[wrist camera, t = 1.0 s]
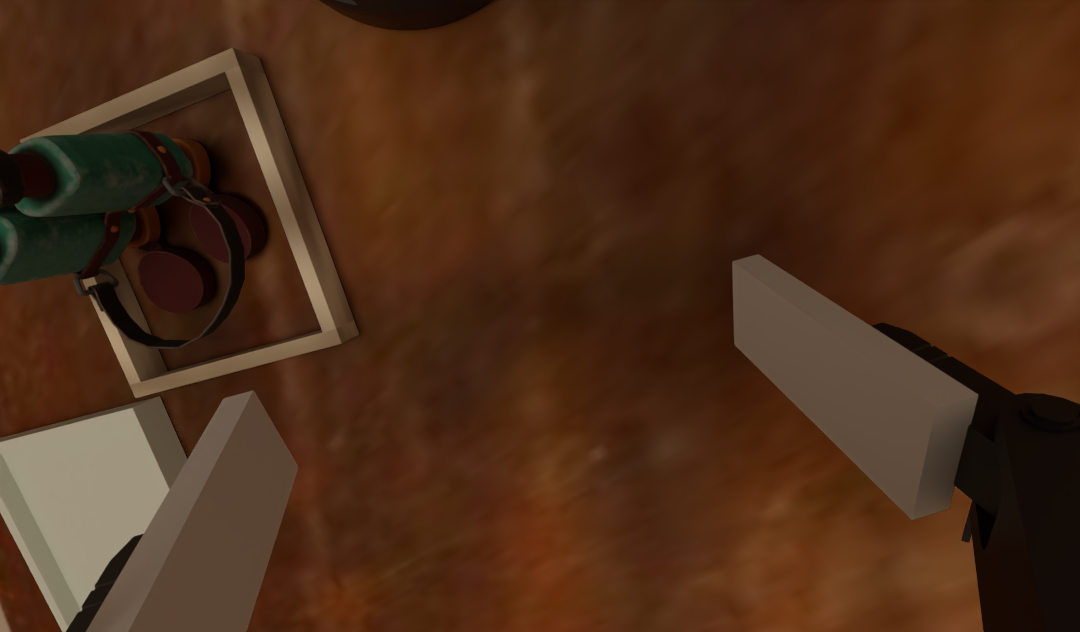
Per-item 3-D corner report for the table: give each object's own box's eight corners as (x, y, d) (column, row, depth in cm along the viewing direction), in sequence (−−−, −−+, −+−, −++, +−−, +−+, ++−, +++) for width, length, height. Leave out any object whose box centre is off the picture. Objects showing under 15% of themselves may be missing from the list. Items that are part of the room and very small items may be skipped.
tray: (1, 437, 35) (-32, 450, 33) (159, 396, 32) (132, 407, 30) (94, 621, 37) (67, 642, 35) (249, 598, 34) (228, 620, 32)
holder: (56, 143, 29) (19, 140, 27) (259, 57, 26) (232, 47, 24) (162, 386, 32) (135, 398, 30) (359, 334, 28) (341, 343, 27)
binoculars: (42, 436, 21) (-172, 240, 19) (221, 342, 31) (91, 208, 29) (171, 308, 19) (-60, 71, 17) (321, 251, 29) (185, 99, 27)
